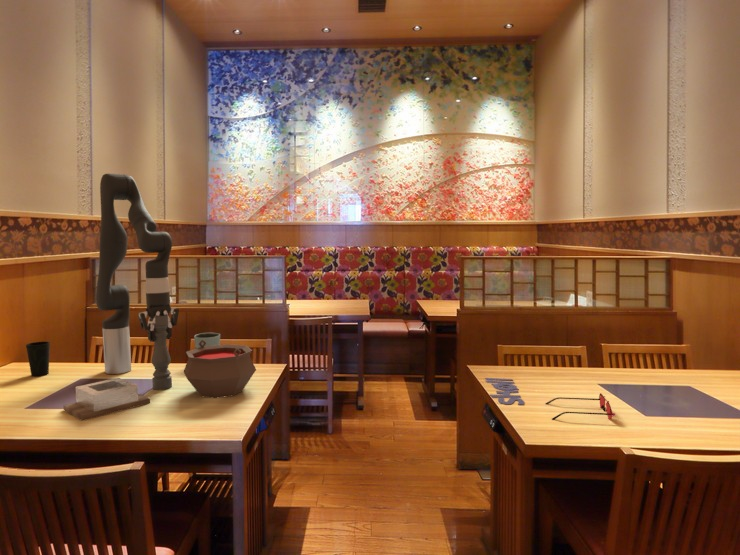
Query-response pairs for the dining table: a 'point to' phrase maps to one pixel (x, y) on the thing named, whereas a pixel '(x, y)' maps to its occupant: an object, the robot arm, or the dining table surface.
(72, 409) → the socket board
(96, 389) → the square collar
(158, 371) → the candle holder
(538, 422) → the dining table surface
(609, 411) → the glasses
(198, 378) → the brown cauldron
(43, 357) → the cup
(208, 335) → the grey cylindrical container
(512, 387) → the signage
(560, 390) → the dining table surface
